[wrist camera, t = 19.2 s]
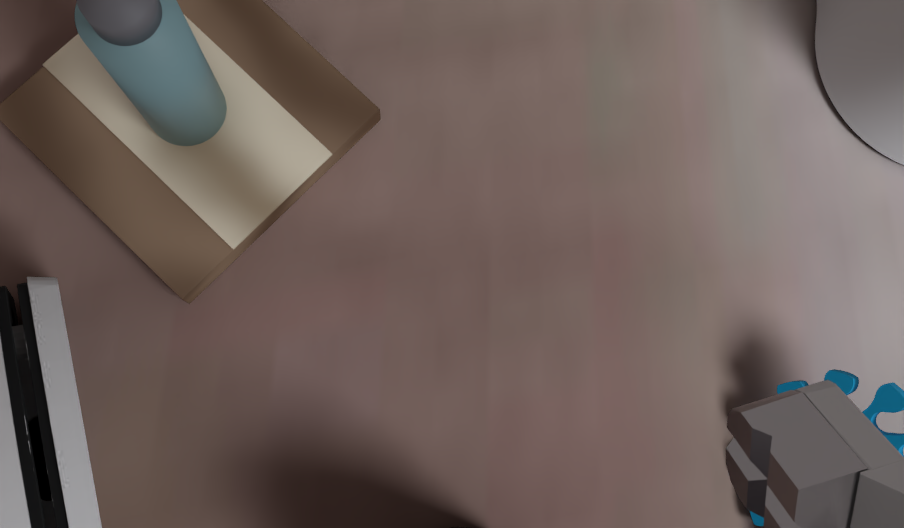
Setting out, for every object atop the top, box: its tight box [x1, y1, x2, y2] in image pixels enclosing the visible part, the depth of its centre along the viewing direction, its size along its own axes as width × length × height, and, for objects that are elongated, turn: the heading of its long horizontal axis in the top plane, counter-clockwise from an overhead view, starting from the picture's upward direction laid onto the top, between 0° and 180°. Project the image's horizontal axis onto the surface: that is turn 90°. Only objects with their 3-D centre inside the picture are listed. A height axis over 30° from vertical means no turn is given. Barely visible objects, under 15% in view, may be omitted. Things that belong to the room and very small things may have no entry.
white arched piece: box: [0, 277, 102, 528], centre depth 37 cm, size 17×5×10 cm, turn 15°
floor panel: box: [0, 0, 380, 304], centre depth 44 cm, size 14×14×2 cm
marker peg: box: [75, 0, 227, 146], centre depth 37 cm, size 4×4×12 cm
